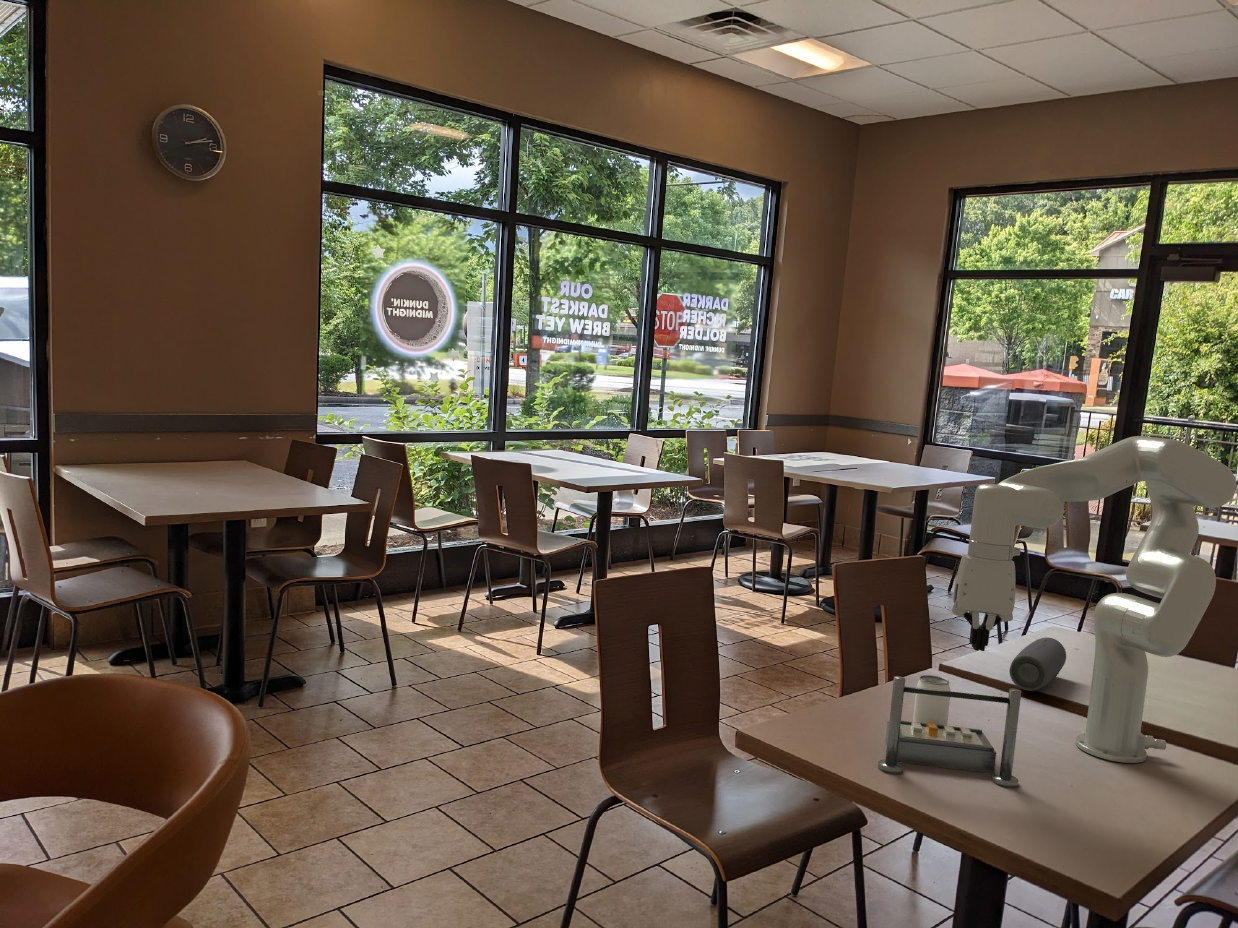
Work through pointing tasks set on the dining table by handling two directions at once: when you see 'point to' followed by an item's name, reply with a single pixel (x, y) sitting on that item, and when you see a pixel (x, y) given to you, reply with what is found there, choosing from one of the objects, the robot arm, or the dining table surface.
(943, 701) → the can
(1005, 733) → the cord stand
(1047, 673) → the bluetooth speaker
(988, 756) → the breaker panel
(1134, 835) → the dining table surface
